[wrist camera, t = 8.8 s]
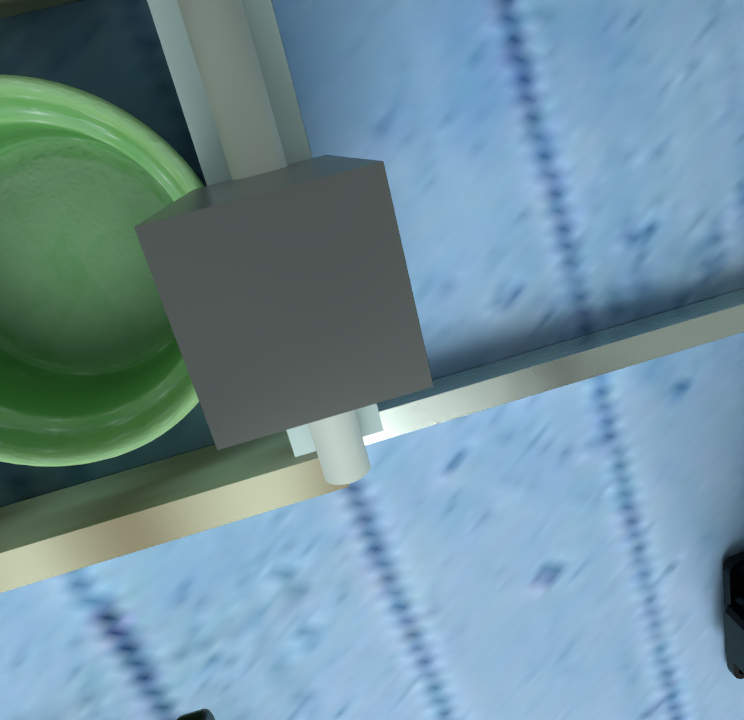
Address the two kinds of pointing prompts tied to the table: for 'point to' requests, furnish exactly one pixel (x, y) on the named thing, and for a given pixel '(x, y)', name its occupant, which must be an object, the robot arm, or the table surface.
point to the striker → (277, 253)
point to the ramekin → (82, 278)
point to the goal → (304, 473)
